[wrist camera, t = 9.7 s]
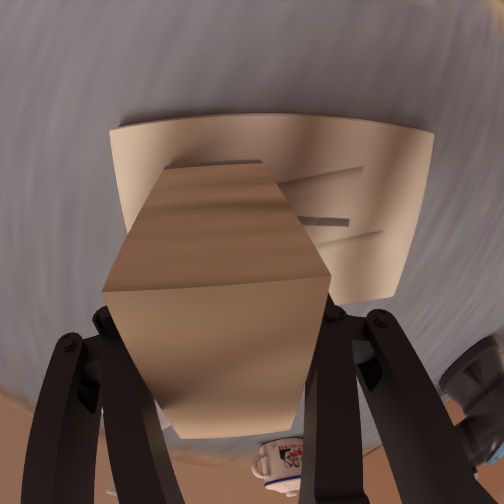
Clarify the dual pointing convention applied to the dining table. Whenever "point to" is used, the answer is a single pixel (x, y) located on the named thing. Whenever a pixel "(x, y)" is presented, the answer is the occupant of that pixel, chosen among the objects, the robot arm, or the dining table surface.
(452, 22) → the dining table surface
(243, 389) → the block
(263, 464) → the teacup with lid
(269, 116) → the board
